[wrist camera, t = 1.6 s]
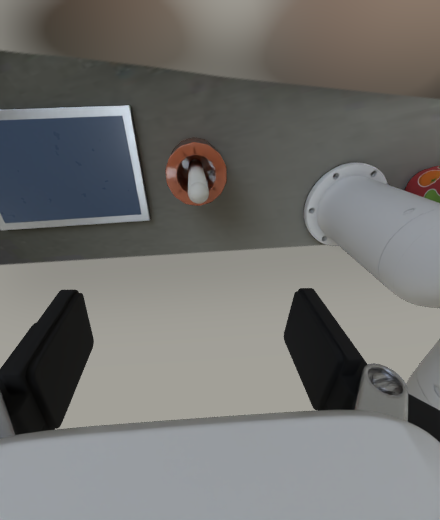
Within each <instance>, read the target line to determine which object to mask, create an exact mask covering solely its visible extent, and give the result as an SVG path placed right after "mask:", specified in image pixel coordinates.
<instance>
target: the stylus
mask: <svg viewBox="0 0 440 520" xmlns="http://www.w3.org/2000/svg"><path fill="white" fill-rule="evenodd" d="M188 196H189V198H190V200H191V201H192V202H194V203H197V204H200V203H203V202H205V201H206V200H207V199H208V196H209V190H208V186H207V182H206V178H205V174H204V170H203V166H202V163H201V162H200V161H199V160H197V159H194V160H192V161H191V162H190V163H189V168H188Z"/></svg>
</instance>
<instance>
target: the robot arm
mask: <svg viewBox="0 0 440 520" xmlns="http://www.w3.org/2000/svg"><path fill="white" fill-rule="evenodd" d="M333 175H334V176H333ZM310 208H311V209H310ZM309 209H310V210H309ZM304 220H305V225H306V227H307V229H308V231H309V232H310V234H311V235H312V236H313V237H314V238H315V239H316V240H318V241H319V242H321V243H323V244H326V245H332V246H340V247H341V248H342V249H343V250H345V251H346V252H347V253H348V254H349V255H350V256H351V257H353V258H354V259H355V260H356V261H357V262H358V263H360V264H361V265H362V266H363V267H364V268H365V269H366V270H367V271H369V272H370V273H371V274H372V275H373V276H374V277H375V278H376V279H378V280H379V281H380V282H381V283H382V284H383V285H385V286H386V287H387V288H388V289H389V290H391V291H392V292H393V293H394V294H395V295H397V296H398V297H400V298H401V299H403V300H405V301H407V302H410V303H412V304H415V305H419V306H424V307H432V308H440V203H438V202H435V201H432V200H430V199H427V198H424V197H421V196H418V195H415V194H413V193H410V192H407V191H404V190H401V189H398V188H396V187H393V186H390V185H388V182H387V180H386V178H385V176H384V174H383V173H382V172H381V171H380V170H379V169H377V168H375V167H374V166H371V165H368V164H365V163H359V162H356V163H347V164H343V165H340V166H338V167H336V168H334V169H332V170H330V171H329V172H327V173H326V174H325V175H324V176H323V177H321V178H320V179H319V180H318V181H317V183H316V184H315V185H314V186H313V188H312V190H311V191H310V193H309V195H308V197H307V200H306V203H305V208H304ZM284 340H285V343H286V345H287V348H288V350H289V352H290V355H291V357H292V359H293V362H294V364H295V366H296V369H297V371H298V373H299V376H300V378H301V380H302V382H303V385H304V387H305V390H306V392H307V394H308V397H309V399H310V401H311V404H312V406H313V408H314V409H315V410H318V411H301V412H300V411H299V412H284V413H269V414H253V415H238V416H224V417H210V418H196V419H181V420H167V421H154V422H141V423H128V424H115V425H102V426H89V427H79V428H68V429H57V430H55V428H59V427H60V425H61V423H62V421H63V419H64V416H65V414H66V411H67V409H68V407H69V404H70V402H71V399H72V397H73V394H74V392H75V389H76V387H77V384H78V382H79V380H80V377H81V375H82V372H83V370H84V367H85V365H86V363H87V360H88V358H89V355H90V353H91V350H92V348H93V342H94V341H93V335H92V331H91V327H90V323H89V319H88V314H87V310H86V306H85V301H84V297H83V294H82V293H79V292H78V291H77V290H61V291H60V292H59V293H58V294H57V296H56V297H55V298H54V300H53V301H52V302H51V304H50V305H49V307H48V308H47V309H46V311H45V312H44V314H43V315H42V316H41V318H40V319H39V320H38V322H37V323H35V324H34V325H33V326H32V327H31V328H30V329H29V331H28V332H27V333H26V335H25V336H24V338H23V339H22V340H21V342H20V343H19V344H18V346H17V347H16V348H15V350H14V351H13V352H12V354H11V355H10V357H9V358H8V359H7V361H6V362H5V363H4V365H3V366H2V367H1V369H0V520H440V339H439V341H438V342H437V343H436V344H435V346H434V347H433V348H432V349H431V350H430V352H429V353H428V354H427V355H426V357H425V358H424V359H423V360H422V361H421V363H420V364H419V366H418V367H417V368H416V370H415V371H414V372H413V374H412V375H411V377H410V378H409V380H408V382H407V384H406V383H405V382H404V380H403V379H402V378H401V377H400V376H399V375H398V374H397V373H395V372H394V371H393V370H391V369H389V368H388V367H385V366H383V365H380V364H367V363H366V362H365V360H364V359H363V358H362V356H361V355H360V353H359V352H358V350H357V349H356V348H355V346H354V345H353V343H352V342H351V341H350V339H349V338H348V337H347V335H346V334H345V332H344V331H343V330H342V328H341V327H340V326H339V324H338V323H337V321H336V320H335V318H334V317H333V316H332V314H331V313H330V311H329V310H328V309H327V307H326V306H325V304H324V303H323V302H322V300H321V299H320V298H319V296H318V295H317V293H316V292H315V291H314V289H312V288H301V289H299V290H298V292H295V294H294V298H293V302H292V306H291V309H290V313H289V317H288V320H287V325H286V328H285V332H284Z"/></svg>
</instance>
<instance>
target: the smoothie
mask: <svg viewBox="0 0 440 520" xmlns="http://www.w3.org/2000/svg"><path fill="white" fill-rule="evenodd" d="M405 191H407V192H410V193H413V194H415V195H418V196H421V197H424V198H427V199H430V200H432V201H435V202H438V203H440V166H436V167H431V168H429V169H425V170H423V171H420V172H418V173H417V174H416V175H415V176H413V177H412V179H411V180H410V181H409V182H408V184H407V186H406V188H405Z"/></svg>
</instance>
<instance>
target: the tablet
mask: <svg viewBox="0 0 440 520" xmlns="http://www.w3.org/2000/svg"><path fill="white" fill-rule="evenodd" d="M150 219H151V217H150V212H149V206H148V200H147V195H146V189H145V183H144V178H143V172H142V166H141V161H140V155H139V150H138V144H137V138H136V133H135V127H134V121H133V116H132V110H131V106H130V105H123V106H94V107H66V108H38V109H9V110H0V229H1V230H15V229H30V228H45V227H60V226H74V225H89V224H104V223H119V222H134V221H148V220H150Z"/></svg>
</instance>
